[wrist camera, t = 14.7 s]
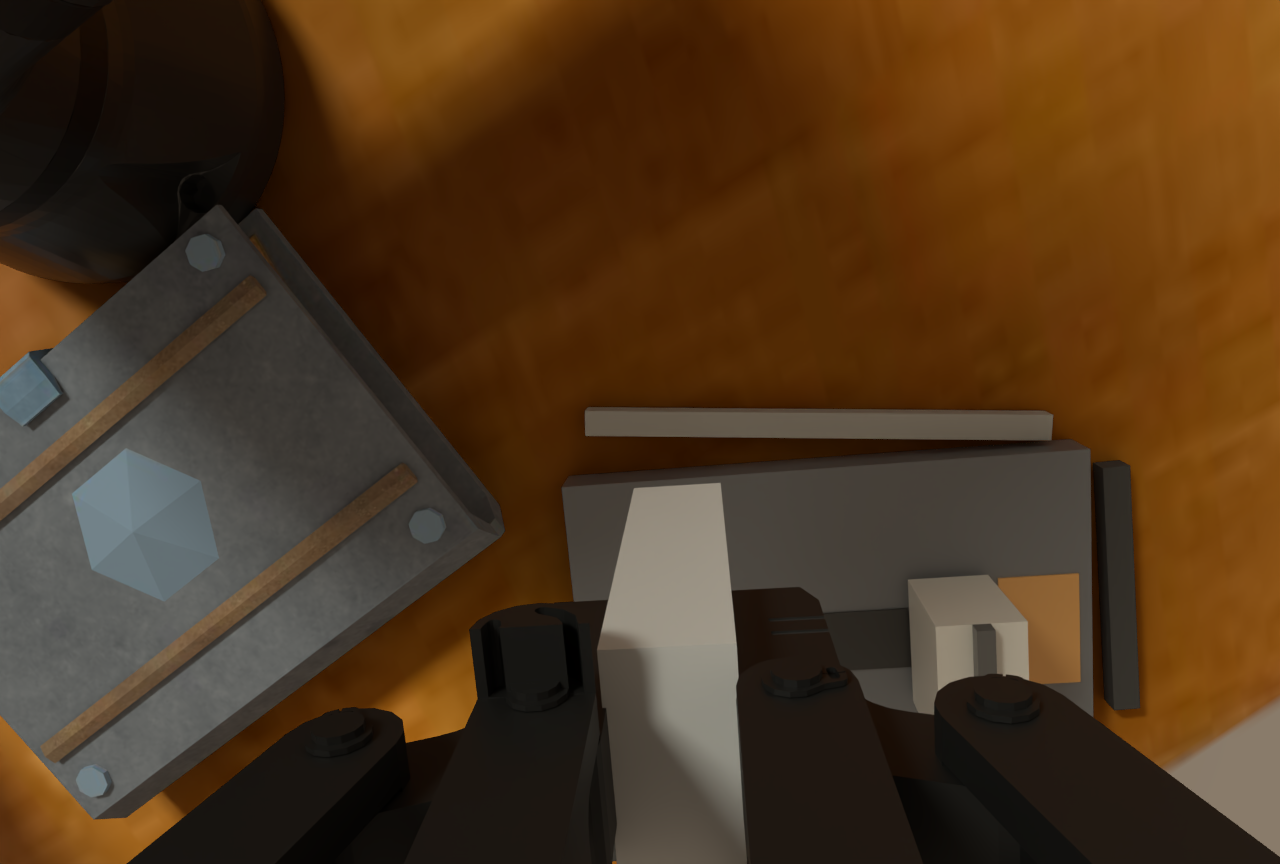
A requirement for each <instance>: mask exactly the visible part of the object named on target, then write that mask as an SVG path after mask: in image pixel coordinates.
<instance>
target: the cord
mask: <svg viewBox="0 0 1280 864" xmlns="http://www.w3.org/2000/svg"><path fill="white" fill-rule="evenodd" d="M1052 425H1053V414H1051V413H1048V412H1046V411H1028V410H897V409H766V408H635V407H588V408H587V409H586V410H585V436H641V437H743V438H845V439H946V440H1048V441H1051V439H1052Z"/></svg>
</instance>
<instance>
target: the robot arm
mask: <svg viewBox="0 0 1280 864" xmlns="http://www.w3.org/2000/svg"><path fill="white" fill-rule="evenodd" d="M283 120H284V80H283V71H282V65H281V59H280V54H279V49H278V45H277V42H276V38H275V35H274V32H273V28H272V25H271V22H270V20H269V17H268V15H267V13H266V10H265V8H264V6H263V4H262V2H261V0H0V263H2V264H4V265H6V266H9V267H11V268H13V269H16V270H18V271H21V272H24V273H27V274H31V275H34V276H38V277H42V278H46V279H51V280H57V281H62V282H71V283H85V284H96V283H118V282H129V281H131V280H132V279H133V278H134V277H135V276H136V275H137V274H138V273H140V272H141V271H142V270H143V269H144V268H145V267H146V266H148V265H149V264H150V263H151V262H152V261H153V260H154V259H155V258H157V257H158V256H159V255H160V254H161V253H162V252H163V251H165V250H166V249H167V248H168V247H169V246H170V245H171V244H173V243H174V242H175V241H176V240H177V239H178V238H179V237H180V236H182V235H183V234H184V233H185V232H186V231H187V230H188V229H190V228H191V227H192V226H193V225H194V224H195V223H196V222H198V221H199V220H200V219H201V218H202V217H203V216H204V215H205V214H207V213H208V212H209V211H210V210H211V209H212V208H213V207H215V206H216V205H222V206H223V207H224V208H225V210H226V211H227V212H228V213H229V215H230V216H231V217H232V218H233V219H234V221H235V222H236V223H237V224H239V223H240V222H241V221H242V220H243V219H244V218H246V217H247V216H248V215H249V214H250V212H251V211H252V209H253V208H254V206H255V205H256V203H257V201H258V200H259V198H260V196H261V194H262V192H263V190H264V188H265V186H266V184H267V182H268V180H269V177H270V175H271V172H272V170H273V167H274V164H275V161H276V158H277V154H278V150H279V146H280V141H281V135H282V129H283ZM469 631H470V639H471V647H472V656H473V664H474V672H475V680H476V688H477V697H478V700H477V702H476V704H475V706H474V709H473V711H472V713H471V715H470V717H469V720H468V722H467V724H466V726H465V728H463V729H461V730H458V731H455V732H452V733H448V734H444V735H441V736H437V737H432V738H427V739H423V740H418V741H413V742H409V743H406V742H405V735H404V728H403V721H402V719H400V718H399V717H398V716H396V715H395V714H394V713H392V712H389V711H384V710H380V709H375V708H367V709H358V708H356V707H351V708H343V709H342V711H339V709H338V710H334V711H330V712H327V713H325V714H323V715H322V716H321V717H318V718H315V719H313V720H310V721H308V722H305V723H303V724H302V725H300V726H299V727H297V728H295V729H294V730H292V731H290V732H289V733H287V734H286V735H285V736H283V737H282V738H281V739H280V740H279V741H277V742H276V743H275V744H274V745H272V746H271V747H270V748H269V749H267V750H266V751H265V752H264V753H262V754H261V755H260V756H259V757H258V758H256V759H255V760H254V761H253V762H251V763H250V764H249V765H248V766H246V767H245V768H244V769H243V770H242V771H240V772H239V773H238V774H237V775H235V776H234V777H233V778H232V779H230V780H229V781H228V782H227V783H226V784H224V785H223V786H222V787H221V788H219V789H218V790H217V791H216V792H214V793H213V794H212V795H211V796H210V797H208V798H207V799H206V800H205V801H203V802H202V803H201V804H200V805H198V806H197V807H196V808H195V809H194V810H192V811H191V812H190V813H189V814H187V815H186V816H185V817H184V818H182V819H181V820H180V821H179V822H178V823H176V824H175V825H174V826H173V827H171V828H170V829H169V830H168V831H166V832H165V833H164V834H163V835H162V836H160V837H159V838H158V839H157V840H155V841H154V842H153V843H152V844H150V845H149V846H148V847H147V848H146V849H144V850H143V851H142V852H141V853H139V854H138V855H137V856H136V857H134V858H133V859H132V860H131V861H130V862H128V863H127V864H612V859H613V852H614V844H615V849H616V859H617V864H1280V857H1279V856H1278V855H1276V854H1275V853H1274V852H1272V851H1271V850H1270V849H1268V848H1267V847H1266V846H1264V845H1263V844H1262V843H1260V842H1259V841H1257V840H1256V839H1255V838H1254V837H1252V836H1251V835H1250V834H1248V833H1247V832H1246V831H1244V830H1243V829H1242V828H1240V827H1239V826H1238V825H1236V824H1235V823H1234V822H1232V821H1231V820H1230V819H1228V818H1227V817H1226V816H1224V815H1223V814H1222V813H1220V812H1219V811H1218V810H1216V809H1215V808H1214V807H1212V806H1211V805H1209V804H1208V803H1207V802H1206V801H1204V800H1203V799H1201V798H1200V797H1199V796H1198V795H1196V794H1195V793H1194V792H1192V791H1191V790H1189V789H1188V788H1187V787H1185V786H1184V785H1183V784H1182V783H1180V782H1179V781H1177V780H1176V779H1175V778H1174V777H1172V776H1171V775H1170V774H1168V773H1167V772H1166V771H1164V770H1163V769H1162V768H1160V767H1159V766H1158V765H1156V764H1155V763H1154V762H1152V761H1151V760H1149V759H1148V758H1147V757H1145V756H1144V755H1143V754H1141V753H1140V752H1139V751H1137V750H1136V749H1135V748H1133V747H1132V746H1131V745H1129V744H1128V743H1127V742H1125V741H1124V740H1123V739H1121V738H1120V737H1119V736H1117V735H1116V734H1115V733H1113V732H1112V731H1111V730H1109V729H1108V728H1107V727H1105V726H1104V725H1103V724H1101V723H1100V722H1099V721H1097V720H1096V719H1095V718H1093V717H1092V716H1091V715H1089V714H1088V713H1087V712H1085V711H1084V710H1083V709H1081V708H1080V707H1079V706H1077V705H1076V704H1075V703H1073V702H1072V701H1071V700H1069V699H1068V698H1067V697H1065V696H1064V695H1062V694H1061V693H1059V692H1057V691H1055V690H1053V689H1051V688H1049V687H1047V686H1046V685H1043V684H1040V683H1036V682H1033V681H1029V680H1026V679H1023V678H1022V677H1019V676H1014V675H1007V674H1006V676H1003V674H986V675H985V676H974V677H967V678H963V679H960V680H957V681H953V682H950V683H948V684H947V685H946V686H944V687H943V688H941V689H940V690H939V691H937V694H936V698H935V702H934V715H932V714H924V713H916V712H908V711H903V710H897V709H892V708H888V707H885V706H881V705H878V704H875V703H872V702H870V701H868V700H866V699H865V697H864V694H863V691H862V689H861V686H860V683H859V680H858V679H857V678H856V676H855V675H854V674H853V673H852V671H851V670H849V669H847V668H845V667H843V666H841V665H840V663H839V660H838V657H837V654H836V651H835V648H834V644H833V641H832V638H831V635H830V632H829V631H828V626H827V623H826V620H825V619H824V614H823V611H822V608H821V605H820V602H819V600H818V599H817V598H815V597H814V596H812V595H811V594H809V593H808V592H807V591H805V590H804V589H802V588H801V587H787V588H768V589H749V590H731V583H730V573H729V563H728V552H727V542H726V532H725V522H724V512H723V502H722V492H721V483H709V484H693V485H677V486H661V487H644V488H634V490H633V494H632V499H631V503H630V508H629V512H628V516H627V521H626V525H625V529H624V534H623V538H622V543H621V547H620V551H619V556H618V560H617V565H616V569H615V573H614V578H613V582H612V586H611V591H610V595H609V600H595V601H577V602H558V603H554V604H551V603H536V604H528V605H520V606H514V607H511V608H507V609H504V610H500V611H497V612H494V613H492V614H490V615H488V616H486V617H484V618H482V619H480V620H478V621H477V622H476V623H475V624H474V625H473V626H472V627H471V628H470V629H469Z"/></svg>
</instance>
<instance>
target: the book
mask: <svg viewBox="0 0 1280 864" xmlns="http://www.w3.org/2000/svg"><path fill="white" fill-rule="evenodd" d="M504 532H505V528H504V523H503V518H502V514H501V509H500V505H499V504H498V502H497V501H496V500H495V499H494V497H493V496H492V495H491V494H490V492H489V491H488V490H487V489H486V488H485V486H484V485H483V484H482V483H481V481H480V480H479V479H478V478H477V476H476V475H475V474H474V473H473V471H472V470H471V469H470V468H469V466H468V465H467V464H466V463H465V461H464V460H463V459H462V458H461V456H460V455H459V454H458V453H457V451H456V450H455V449H454V448H453V446H452V445H451V444H450V443H449V441H448V440H447V439H446V438H445V436H444V435H443V434H442V433H441V431H440V430H439V429H438V428H437V426H436V425H435V424H434V423H433V421H432V420H431V419H430V418H429V416H428V415H427V414H426V413H425V411H424V410H423V409H422V408H421V406H420V405H419V404H418V403H417V401H416V400H415V399H414V398H413V396H412V395H411V394H410V393H409V391H408V390H407V389H406V388H405V387H404V385H403V384H402V383H401V382H400V380H399V379H398V378H397V377H396V375H395V374H394V373H393V372H392V370H391V369H390V368H389V367H388V365H387V364H386V363H385V362H384V360H383V359H382V358H381V357H380V355H379V354H378V353H377V352H376V350H375V349H374V348H373V347H372V345H371V344H370V343H369V342H368V340H367V339H366V338H365V337H364V335H363V334H362V333H361V332H360V330H359V329H358V328H357V327H356V325H355V324H354V323H353V322H352V320H351V319H350V318H349V317H348V315H347V314H346V313H345V312H344V310H343V309H342V308H341V307H340V305H339V304H338V303H337V302H336V300H335V299H334V298H333V297H332V295H331V294H330V293H329V292H328V290H327V289H326V288H325V287H324V285H323V284H322V283H321V282H320V281H319V279H318V278H317V277H316V276H315V274H314V273H313V272H312V271H311V269H310V268H309V267H308V266H307V264H306V263H305V262H304V261H303V259H302V258H301V257H300V256H299V254H298V253H297V252H296V251H295V249H294V248H293V247H292V246H291V244H290V243H289V242H288V241H287V239H286V238H285V237H284V236H283V234H282V233H281V232H280V231H279V229H278V228H277V227H276V226H275V224H274V223H273V222H272V221H271V219H270V218H269V217H268V216H267V214H266V213H265V212H264V211H263V209H255V210H254V211H252V212H251V213H250V214H249V215H248V216H247V217H246V218H244V219H243V220H242V221H241V222H240V223H239V224H237V223H236V222H235V221H234V219H233V218H232V217H231V216H230V215H229V213H228V212H227V211H226V210H225V208H224V207H223V206H222V205H216V206H215V207H213V208H212V209H211V210H210V211H209V212H208V213H207V214H205V215H204V216H203V217H202V218H201V219H200V220H199V221H198V222H196V223H195V224H194V225H193V226H192V227H191V228H190V229H188V230H187V231H186V232H185V233H184V234H183V235H182V236H180V237H179V238H178V239H177V240H176V241H175V242H174V243H173V244H171V245H170V246H169V247H168V248H167V249H166V250H165V251H163V252H162V253H161V254H160V255H159V256H158V257H157V258H155V259H154V260H153V261H152V262H151V263H150V264H149V265H148V266H146V267H145V268H144V269H143V270H142V271H141V272H140V273H138V274H137V275H136V276H135V277H134V278H133V279H132V280H131V281H129V282H128V283H127V284H126V285H125V286H124V287H123V288H121V289H120V290H119V291H118V292H117V293H116V294H115V295H113V296H112V297H111V298H110V299H109V300H108V301H107V302H106V303H104V304H103V305H102V306H101V307H100V308H99V309H98V310H96V311H95V312H94V313H93V314H92V315H91V316H90V317H88V318H87V319H86V320H85V321H84V322H83V323H82V324H81V325H79V326H78V327H77V328H76V329H75V330H74V331H73V332H71V333H70V334H69V335H68V336H67V337H66V338H65V339H63V340H62V341H61V342H60V343H59V344H58V345H57V346H56V347H54V348H51V349H44V350H38V351H31V352H28V353H27V354H26V355H25V356H24V357H23V358H22V359H20V360H19V361H18V362H17V363H16V364H15V365H14V366H12V367H11V368H10V369H9V370H8V371H7V372H6V373H5V374H3V375H2V376H1V377H0V715H1V716H2V717H3V718H4V720H5V721H6V722H7V723H8V724H9V725H10V726H11V727H12V729H13V730H14V731H15V732H16V733H17V734H18V735H19V736H20V737H21V739H22V740H23V741H24V742H25V743H26V744H27V745H28V746H29V748H30V749H31V750H32V751H33V752H34V753H35V754H36V755H37V757H38V758H39V759H40V760H41V761H42V762H43V763H44V764H45V766H46V767H47V768H48V769H49V770H50V771H51V772H52V773H53V774H54V776H55V777H56V778H57V779H58V780H59V781H60V782H61V783H62V785H63V786H64V787H65V788H66V789H67V790H68V791H69V792H70V794H71V795H72V796H73V797H74V798H75V799H76V800H77V801H78V802H79V804H80V805H81V806H82V807H83V808H84V809H85V810H86V811H87V813H88V814H89V815H90V816H91V817H92V818H93V819H109V818H126V817H128V816H129V815H130V814H132V813H133V812H134V811H136V810H137V809H138V808H140V807H141V806H142V805H144V804H145V803H146V802H148V801H149V800H150V799H152V798H153V797H154V796H156V795H157V794H158V793H160V792H161V791H162V790H164V789H165V788H166V787H168V786H169V785H170V784H172V783H173V782H174V781H176V780H177V779H178V778H180V777H181V776H182V775H184V774H185V773H186V772H188V771H189V770H190V769H192V768H193V767H194V766H196V765H197V764H198V763H200V762H201V761H202V760H204V759H205V758H206V757H208V756H209V755H210V754H212V753H213V752H214V751H216V750H217V749H218V748H220V747H221V746H222V745H224V744H225V743H226V742H228V741H229V740H230V739H232V738H233V737H234V736H236V735H237V734H238V733H240V732H241V731H242V730H244V729H245V728H246V727H248V726H249V725H250V724H252V723H253V722H254V721H256V720H257V719H258V718H260V717H261V716H262V715H264V714H265V713H266V712H268V711H269V710H270V709H272V708H273V707H274V706H276V705H277V704H278V703H280V702H281V701H282V700H284V699H285V698H286V697H288V696H289V695H290V694H292V693H293V692H294V691H296V690H297V689H298V688H300V687H301V686H302V685H304V684H305V683H306V682H308V681H309V680H310V679H312V678H313V677H314V676H316V675H317V674H318V673H320V672H321V671H322V670H324V669H325V668H326V667H328V666H329V665H330V664H332V663H333V662H334V661H336V660H337V659H338V658H340V657H341V656H342V655H344V654H345V653H346V652H348V651H349V650H350V649H352V648H353V647H354V646H356V645H357V644H358V643H360V642H361V641H362V640H364V639H365V638H366V637H368V636H369V635H370V634H372V633H373V632H374V631H376V630H377V629H378V628H380V627H381V626H382V625H384V624H385V623H386V622H388V621H389V620H390V619H392V618H393V617H394V616H396V615H397V614H398V613H400V612H401V611H402V610H404V609H405V608H406V607H408V606H409V605H410V604H412V603H413V602H414V601H416V600H417V599H418V598H420V597H421V596H422V595H424V594H425V593H426V592H428V591H429V590H430V589H432V588H433V587H434V586H436V585H437V584H438V583H440V582H441V581H442V580H444V579H445V578H447V577H448V576H449V575H451V574H452V573H453V572H455V571H456V570H457V569H459V568H460V567H461V566H463V565H464V564H465V563H467V562H468V561H469V560H471V559H472V558H473V557H475V556H476V555H477V554H479V553H480V552H481V551H483V550H484V549H485V548H487V547H488V546H489V545H491V544H492V543H493V542H495V541H496V540H497V539H499V538H500V537H501V536H502V534H503V533H504Z"/></svg>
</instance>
